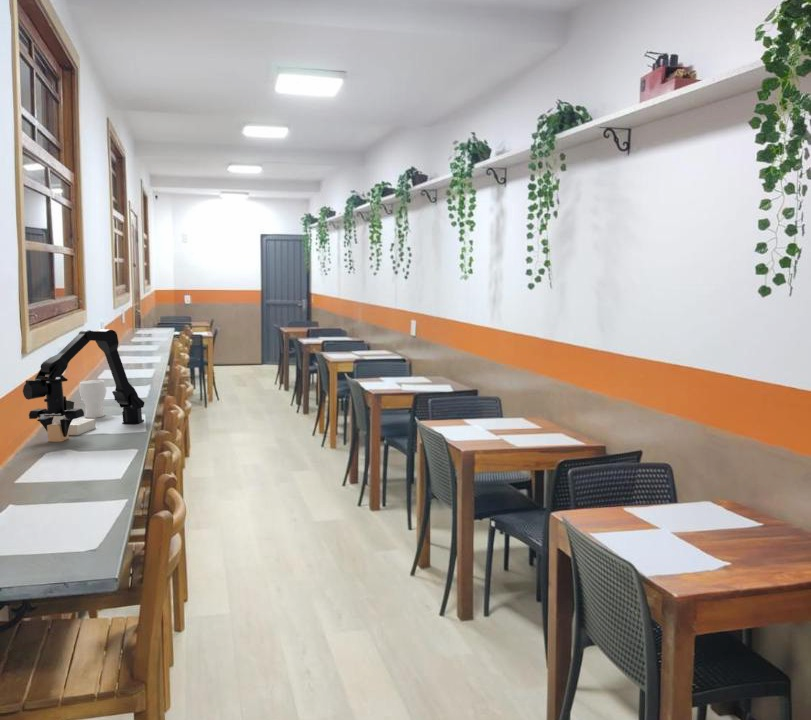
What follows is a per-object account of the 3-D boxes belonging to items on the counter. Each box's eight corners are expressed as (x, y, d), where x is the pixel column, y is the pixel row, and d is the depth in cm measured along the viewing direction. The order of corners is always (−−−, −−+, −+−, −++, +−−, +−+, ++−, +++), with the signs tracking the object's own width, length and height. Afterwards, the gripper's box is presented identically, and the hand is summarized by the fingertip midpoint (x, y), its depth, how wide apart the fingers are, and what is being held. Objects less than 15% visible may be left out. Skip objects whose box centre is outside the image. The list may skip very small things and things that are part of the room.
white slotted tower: (95, 427, 295) (94, 418, 294) (77, 434, 283) (77, 425, 283) (83, 427, 296) (83, 418, 295) (65, 434, 284) (64, 425, 283)
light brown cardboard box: (69, 438, 277) (67, 422, 277) (60, 441, 273) (59, 425, 272) (56, 438, 278) (55, 422, 277) (48, 441, 273) (46, 425, 273)
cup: (75, 417, 316) (72, 382, 314) (96, 413, 326) (93, 379, 324) (93, 419, 311) (90, 384, 309) (113, 414, 321) (111, 380, 319)
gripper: (90, 391, 280) (94, 431, 282) (45, 391, 283) (48, 431, 285) (73, 396, 269) (77, 438, 271) (25, 396, 272) (30, 438, 274)
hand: (58, 436), depth 275 cm, fingers closed on light brown cardboard box, 5 cm apart
